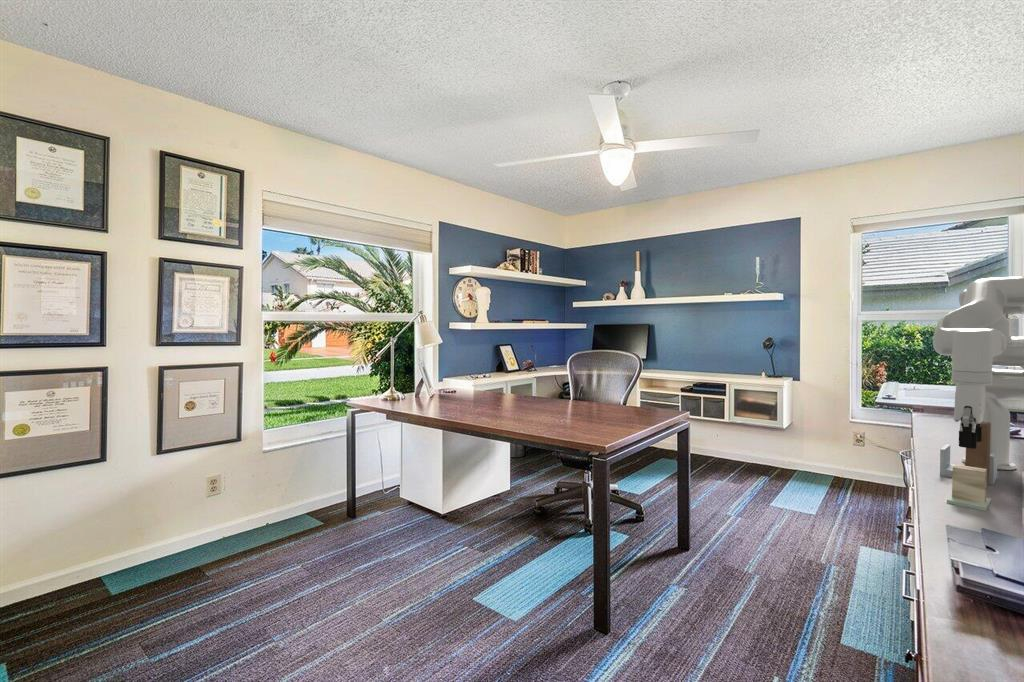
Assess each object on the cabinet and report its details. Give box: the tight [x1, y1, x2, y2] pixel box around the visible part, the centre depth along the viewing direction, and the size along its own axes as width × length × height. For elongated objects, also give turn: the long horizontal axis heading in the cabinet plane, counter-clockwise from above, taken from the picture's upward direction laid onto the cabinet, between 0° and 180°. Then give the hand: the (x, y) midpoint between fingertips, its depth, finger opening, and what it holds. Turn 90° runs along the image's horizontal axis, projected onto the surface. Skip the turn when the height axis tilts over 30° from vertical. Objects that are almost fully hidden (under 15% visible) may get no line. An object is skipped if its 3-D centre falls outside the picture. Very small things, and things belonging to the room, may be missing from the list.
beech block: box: [951, 464, 987, 504], centre depth 125 cm, size 4×6×8 cm, turn 41°
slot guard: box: [939, 443, 998, 485], centre depth 146 cm, size 10×12×8 cm
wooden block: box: [963, 421, 991, 488], centre depth 137 cm, size 9×4×18 cm, turn 127°
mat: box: [946, 493, 992, 512], centre depth 124 cm, size 10×7×1 cm
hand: (970, 444), depth 125 cm, fingers open, 9 cm apart
